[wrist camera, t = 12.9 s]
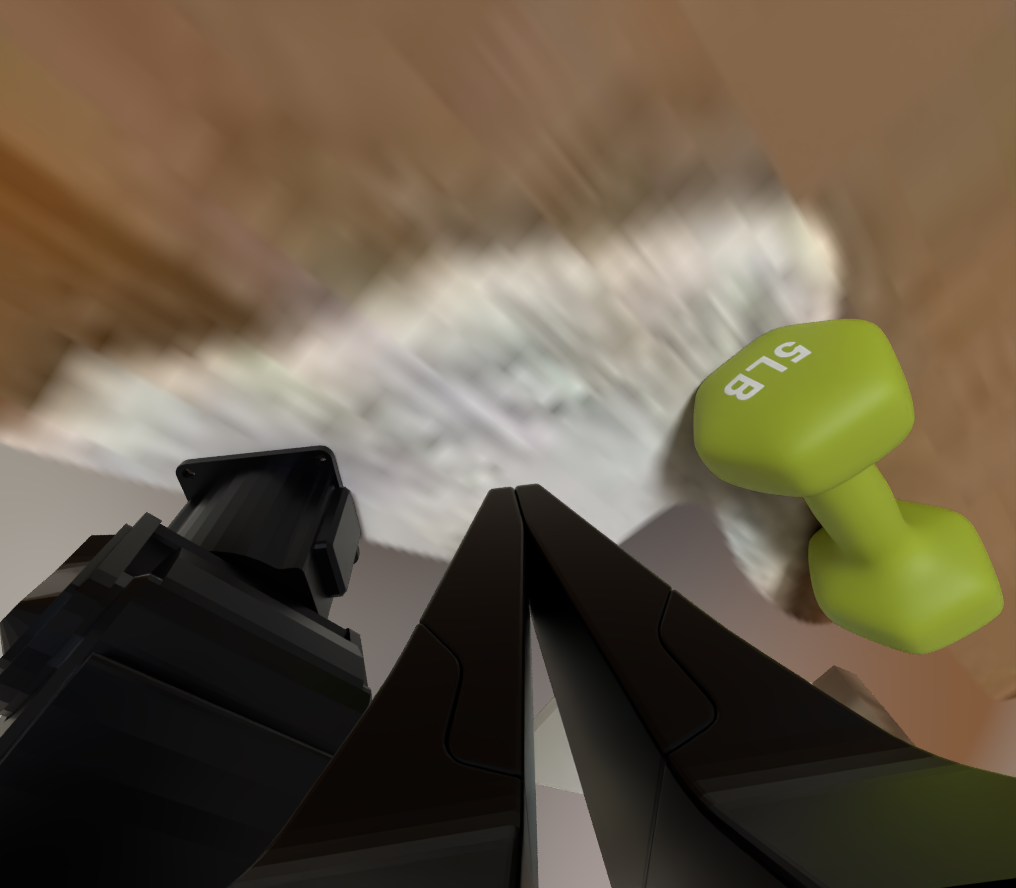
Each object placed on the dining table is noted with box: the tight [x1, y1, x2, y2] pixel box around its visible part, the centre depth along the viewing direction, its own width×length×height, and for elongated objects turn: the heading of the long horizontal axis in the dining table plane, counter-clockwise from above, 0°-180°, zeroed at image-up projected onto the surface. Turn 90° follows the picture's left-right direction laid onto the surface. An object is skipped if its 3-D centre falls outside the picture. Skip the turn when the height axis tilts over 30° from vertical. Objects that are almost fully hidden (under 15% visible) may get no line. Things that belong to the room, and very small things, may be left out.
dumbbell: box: [693, 319, 1004, 654], centre depth 22 cm, size 16×8×7 cm, turn 41°
